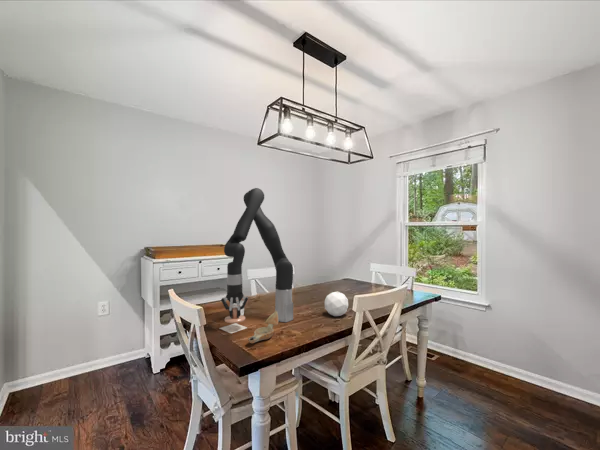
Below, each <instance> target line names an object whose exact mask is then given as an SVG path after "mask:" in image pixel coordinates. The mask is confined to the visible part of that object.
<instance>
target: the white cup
mask: <svg viewBox="0 0 600 450" xmlns="http://www.w3.org/2000/svg"><path fill="white" fill-rule="evenodd" d="M243 302H244V301H243V299H242V300H241V301H240V306H242V305H243ZM234 307H237V304H236V303H234V304H233V307H232V308H234ZM240 311H241V315H243V316H245V315H244V313H245V307H244V308H243V309H241V310H240Z"/></svg>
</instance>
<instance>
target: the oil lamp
mask: <svg viewBox="0 0 600 450" xmlns="http://www.w3.org/2000/svg"><path fill="white" fill-rule="evenodd" d="M264 323H265V324H267V326H263V327H259V328H256V329H255V330H254V332H253V334H254V335H251V336H249V337H248V340H247V341H248V342H249V343H250V344H255V343H257V342H260V341H265V340H266V341H267V340H269V339H271V338H272V337H273V334H274V333H275V330H274V326H278V324H279V321H278V314H277V311H275V310H274V312H273V313H272V314H271V315H269V317H267V319H266V320H265V322H264Z"/></svg>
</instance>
